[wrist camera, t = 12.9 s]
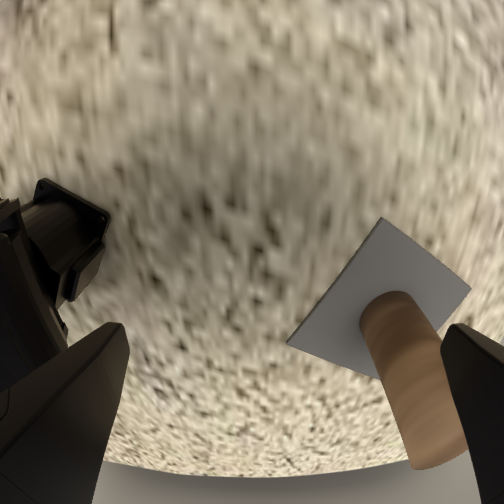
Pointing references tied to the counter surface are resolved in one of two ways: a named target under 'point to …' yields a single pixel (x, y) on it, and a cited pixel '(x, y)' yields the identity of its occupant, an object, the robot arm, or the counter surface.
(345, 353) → the mat
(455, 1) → the counter surface
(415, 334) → the pepper mill
